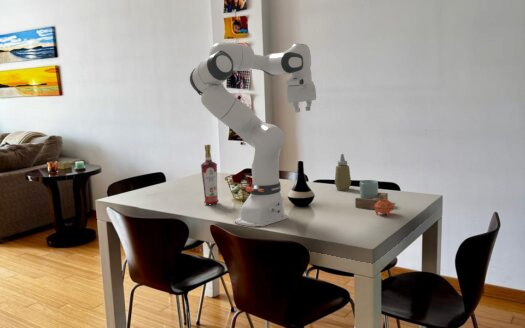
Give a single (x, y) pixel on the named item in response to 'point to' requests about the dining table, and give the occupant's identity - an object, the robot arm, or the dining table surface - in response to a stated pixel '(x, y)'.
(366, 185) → the cup
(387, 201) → the orange rounded figure
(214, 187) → the liquor
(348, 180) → the squeeze bottle
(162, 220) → the dining table surface
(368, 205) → the dock
